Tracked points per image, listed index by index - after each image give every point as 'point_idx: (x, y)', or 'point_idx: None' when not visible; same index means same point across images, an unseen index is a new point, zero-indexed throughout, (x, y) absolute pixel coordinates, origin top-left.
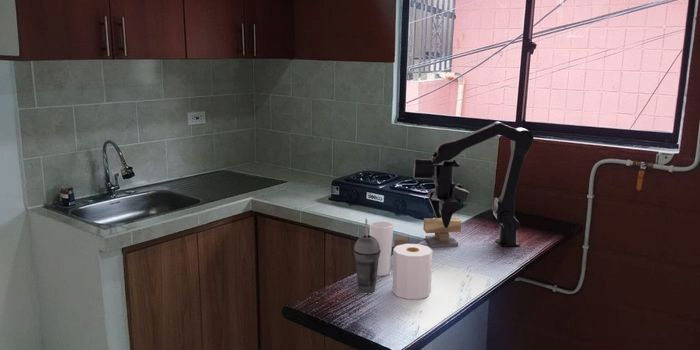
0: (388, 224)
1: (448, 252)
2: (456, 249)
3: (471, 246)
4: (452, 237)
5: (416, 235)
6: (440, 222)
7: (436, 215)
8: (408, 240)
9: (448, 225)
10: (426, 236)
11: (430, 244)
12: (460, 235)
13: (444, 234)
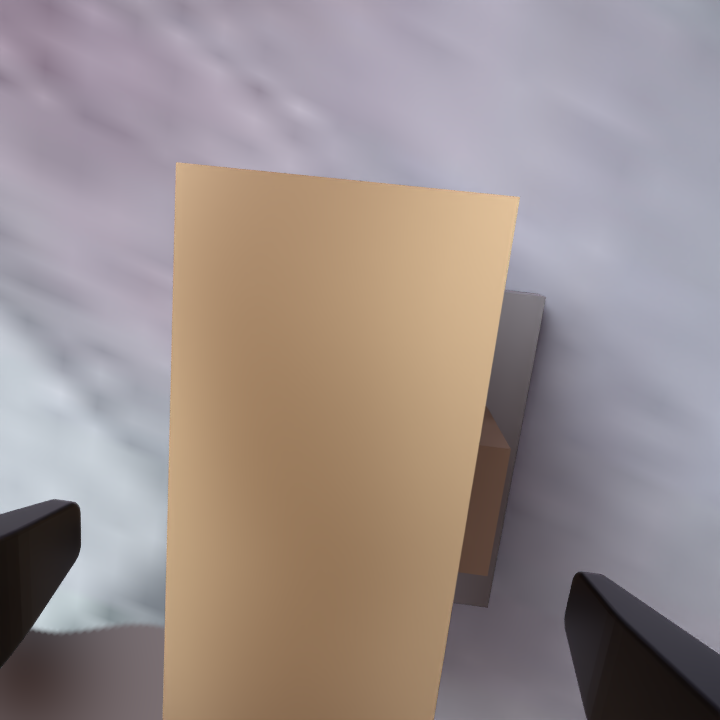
0: None
1: (707, 496)
2: (644, 367)
3: (602, 126)
4: None
5: (83, 590)
6: (429, 696)
7: (3, 652)
8: None
9: (637, 599)
10: None
11: None
12: (138, 78)
13: (497, 518)
